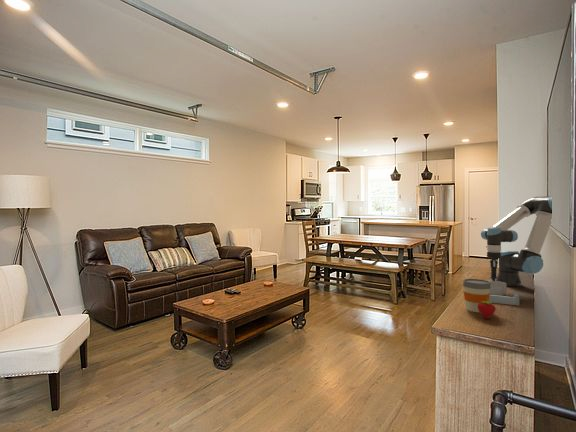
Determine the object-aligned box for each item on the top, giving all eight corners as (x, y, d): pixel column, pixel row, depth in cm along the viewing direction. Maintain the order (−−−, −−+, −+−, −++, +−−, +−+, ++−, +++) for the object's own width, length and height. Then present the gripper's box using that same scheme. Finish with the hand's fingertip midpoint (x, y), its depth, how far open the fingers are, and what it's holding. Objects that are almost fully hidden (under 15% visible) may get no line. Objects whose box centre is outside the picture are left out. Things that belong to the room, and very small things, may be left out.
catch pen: (475, 294, 204) (475, 286, 204) (516, 298, 194) (516, 289, 194) (475, 300, 190) (475, 291, 190) (519, 305, 180) (519, 296, 180)
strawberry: (478, 315, 163) (478, 295, 163) (496, 318, 159) (496, 297, 159) (476, 318, 159) (476, 297, 159) (494, 322, 154) (494, 300, 154)
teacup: (509, 298, 195) (509, 284, 195) (489, 297, 197) (489, 284, 197) (499, 292, 209) (499, 279, 209) (480, 291, 211) (480, 279, 211)
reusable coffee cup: (488, 315, 164) (489, 284, 164) (460, 310, 172) (460, 281, 172) (491, 309, 174) (492, 280, 174) (465, 305, 182) (465, 277, 182)
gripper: (486, 250, 220) (486, 285, 220) (487, 252, 208) (487, 289, 209) (500, 250, 216) (499, 287, 217) (501, 253, 205) (501, 291, 205)
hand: (493, 288), depth 213 cm, fingers closed
